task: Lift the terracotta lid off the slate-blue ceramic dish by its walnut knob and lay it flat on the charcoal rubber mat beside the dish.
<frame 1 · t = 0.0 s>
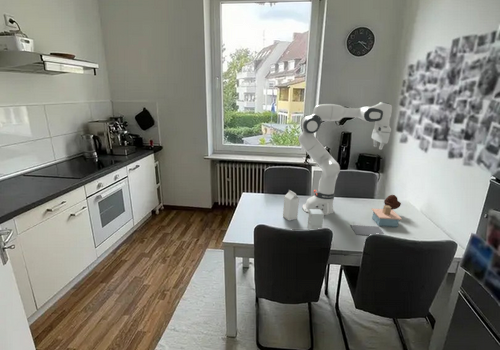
hand: (377, 147, 188), 48 cm above the table, tool pointing down, fingers open, 8 cm apart
mat: (367, 231, 176), on the table
supplement box: (314, 230, 174), on the table
lid: (386, 214, 186), point 6 cm above the table, touching dish
brown toy tree: (390, 214, 202), on the table
dish: (384, 222, 188), on the table
milk carton: (289, 218, 189), on the table
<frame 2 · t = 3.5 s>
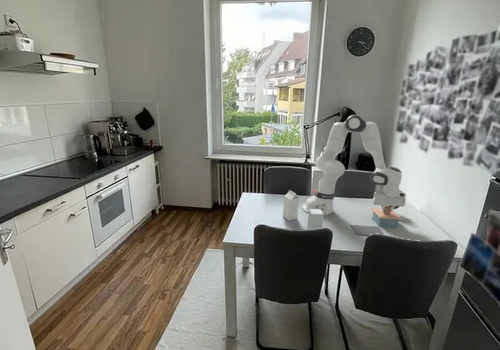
hand: (386, 211, 186), 8 cm above the table, tool pointing down, fingers closed on lid, 3 cm apart
lid: (386, 214, 186), point 6 cm above the table, touching dish, gripper
everything else where it was.
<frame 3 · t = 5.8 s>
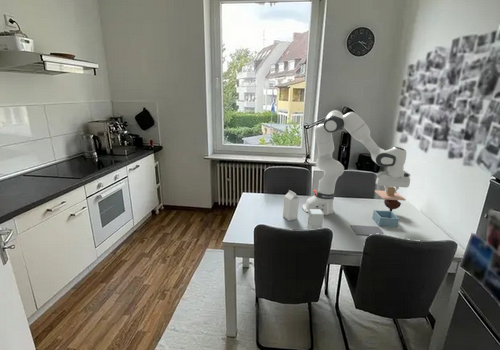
hand: (390, 192, 182), 22 cm above the table, tool pointing down, fingers closed on lid, 3 cm apart
lid: (389, 195, 182), point 19 cm above the table, touching gripper
everything else where it was.
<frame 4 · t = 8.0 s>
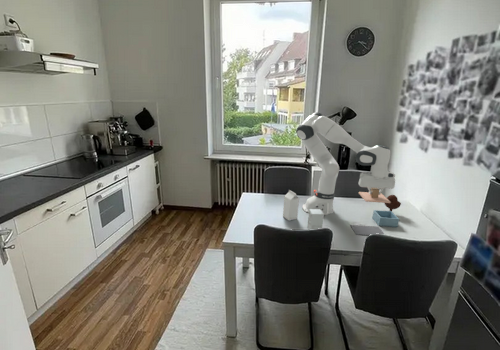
hand: (374, 194, 168), 25 cm above the table, tool pointing down, fingers closed on lid, 3 cm apart
lid: (373, 197, 169), point 23 cm above the table, touching gripper
everything else where it was.
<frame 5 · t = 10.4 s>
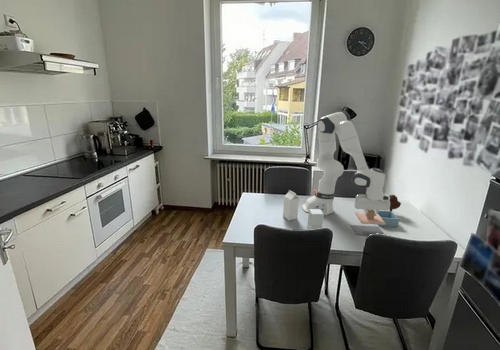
hand: (370, 215, 172), 11 cm above the table, tool pointing down, fingers closed on lid, 3 cm apart
lid: (369, 218, 173), point 9 cm above the table, touching gripper
everything else where it was.
when the fingers open (4 cm above the table, at t = 12.5 s): lid drops 2 cm, resting on mat.
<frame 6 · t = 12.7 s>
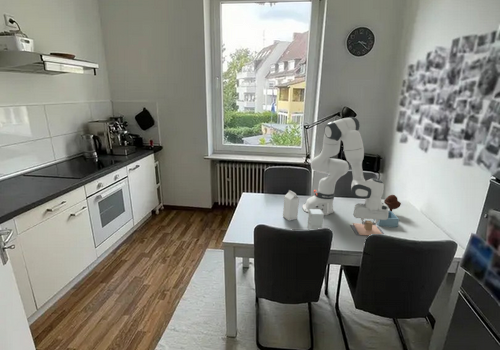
hand: (368, 224, 174), 4 cm above the table, tool pointing down, fingers open, 5 cm apart
lid: (367, 230, 175), point 1 cm above the table, touching mat
everything else where it was.
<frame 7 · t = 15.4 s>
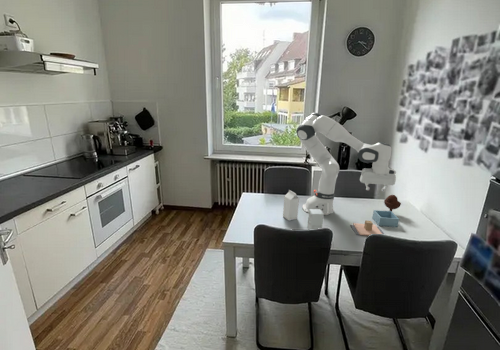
hand: (375, 190, 172), 26 cm above the table, tool pointing down, fingers open, 8 cm apart
nothing on the table moved.
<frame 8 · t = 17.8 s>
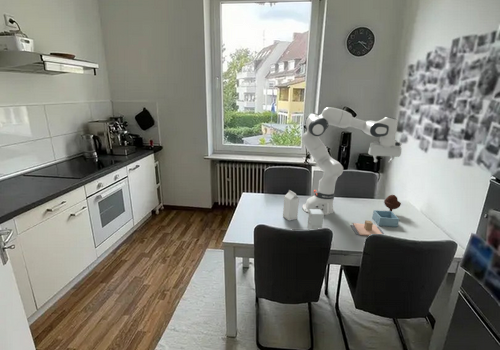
hand: (382, 162, 187), 39 cm above the table, tool pointing down, fingers open, 8 cm apart
nothing on the table moved.
at the end: lid inside the target area on the mat (0.1 cm from its centre), point 0.6 cm above the mat's base; lid touching mat; lid tilted 0° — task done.
